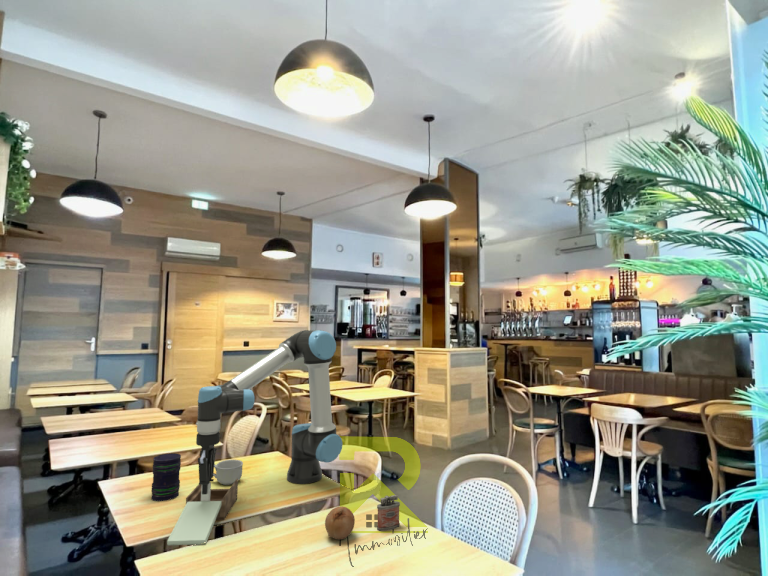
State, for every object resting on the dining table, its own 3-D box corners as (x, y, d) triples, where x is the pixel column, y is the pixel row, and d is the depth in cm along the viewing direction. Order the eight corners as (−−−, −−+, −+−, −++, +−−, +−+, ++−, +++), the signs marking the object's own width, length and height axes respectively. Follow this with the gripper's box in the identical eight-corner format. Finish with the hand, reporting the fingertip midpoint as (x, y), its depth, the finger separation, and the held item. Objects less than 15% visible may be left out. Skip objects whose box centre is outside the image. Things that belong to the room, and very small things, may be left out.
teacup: (246, 478, 190) (247, 459, 190) (235, 487, 179) (236, 467, 180) (215, 477, 191) (216, 458, 192) (203, 486, 180) (203, 466, 181)
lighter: (379, 532, 141) (379, 500, 142) (375, 527, 144) (375, 496, 145) (401, 527, 144) (401, 496, 145) (396, 523, 147) (397, 492, 148)
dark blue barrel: (181, 490, 175) (183, 452, 177) (176, 500, 166) (178, 459, 167) (154, 492, 173) (156, 454, 174) (147, 502, 164) (149, 461, 165)
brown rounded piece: (341, 552, 134) (340, 529, 130) (319, 536, 139) (318, 513, 135) (360, 530, 141) (360, 507, 137) (339, 515, 146) (338, 493, 142)
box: (202, 500, 166) (203, 479, 167) (237, 499, 167) (237, 478, 168) (185, 521, 148) (186, 497, 149) (224, 519, 149) (225, 496, 150)
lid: (187, 505, 148) (187, 501, 148) (221, 504, 149) (221, 500, 149) (167, 545, 132) (167, 541, 131) (205, 544, 133) (205, 539, 132)
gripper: (203, 427, 158) (200, 495, 155) (190, 437, 145) (187, 511, 143) (224, 427, 158) (222, 495, 156) (213, 436, 145) (210, 510, 143)
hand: (205, 502), depth 149 cm, fingers closed
